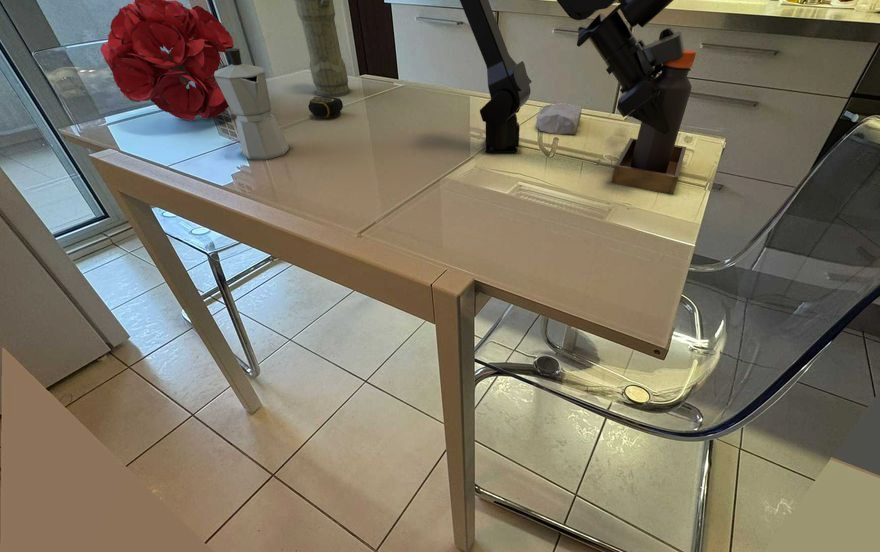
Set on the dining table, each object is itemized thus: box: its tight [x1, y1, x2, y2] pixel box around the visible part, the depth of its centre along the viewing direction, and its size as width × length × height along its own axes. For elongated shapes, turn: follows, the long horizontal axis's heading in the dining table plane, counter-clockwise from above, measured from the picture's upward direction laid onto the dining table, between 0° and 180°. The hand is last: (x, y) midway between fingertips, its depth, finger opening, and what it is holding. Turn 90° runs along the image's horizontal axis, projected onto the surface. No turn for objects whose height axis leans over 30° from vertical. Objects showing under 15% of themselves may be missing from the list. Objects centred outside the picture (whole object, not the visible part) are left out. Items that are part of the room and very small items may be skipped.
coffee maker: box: [214, 47, 290, 161], centre depth 83 cm, size 15×9×18 cm, turn 47°
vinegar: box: [631, 48, 697, 174], centre depth 78 cm, size 7×7×20 cm
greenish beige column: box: [294, 0, 350, 98], centre depth 109 cm, size 9×12×35 cm
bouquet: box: [99, 0, 235, 122], centre depth 99 cm, size 22×24×30 cm
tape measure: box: [308, 96, 344, 119], centre depth 104 cm, size 7×7×4 cm
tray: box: [611, 137, 687, 195], centre depth 84 cm, size 11×15×3 cm
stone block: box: [536, 102, 583, 135], centre depth 103 cm, size 12×5×10 cm
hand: (669, 125), depth 79 cm, fingers closed on vinegar, 7 cm apart
